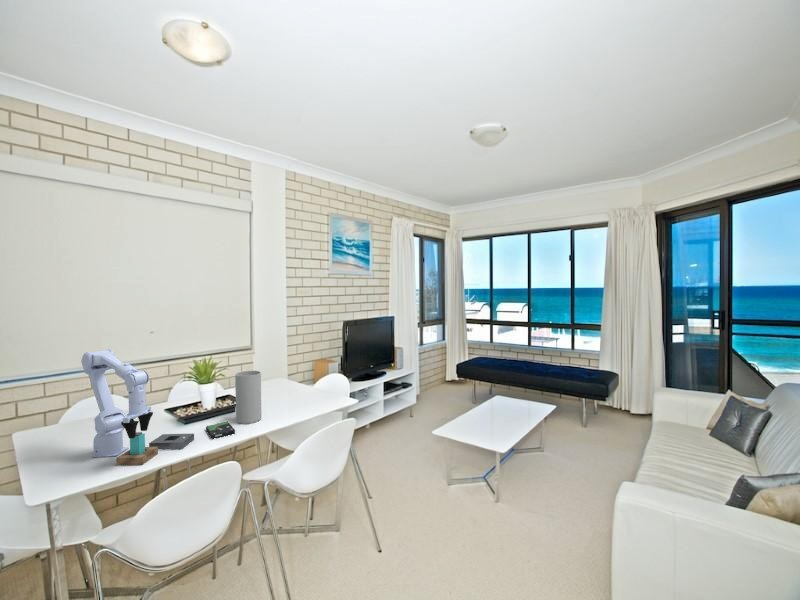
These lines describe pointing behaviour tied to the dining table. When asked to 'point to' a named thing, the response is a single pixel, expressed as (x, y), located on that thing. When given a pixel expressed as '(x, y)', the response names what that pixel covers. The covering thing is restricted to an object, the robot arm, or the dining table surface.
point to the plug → (137, 444)
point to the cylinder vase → (248, 396)
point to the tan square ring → (137, 457)
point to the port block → (172, 441)
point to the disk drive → (220, 430)
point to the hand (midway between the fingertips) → (138, 434)
